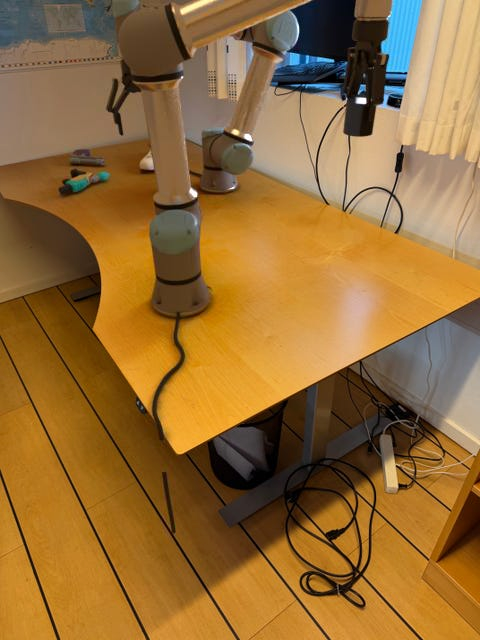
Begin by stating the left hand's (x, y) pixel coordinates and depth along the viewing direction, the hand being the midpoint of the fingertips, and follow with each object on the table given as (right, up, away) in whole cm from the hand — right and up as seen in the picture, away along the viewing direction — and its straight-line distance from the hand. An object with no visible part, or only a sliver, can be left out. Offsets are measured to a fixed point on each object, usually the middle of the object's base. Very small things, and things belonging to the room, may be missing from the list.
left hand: (357, 131), depth 115 cm
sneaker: (-66, +26, +103) cm, 125 cm away
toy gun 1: (-98, +28, +107) cm, 148 cm away
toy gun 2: (-96, +9, +81) cm, 126 cm away
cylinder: (0, 0, 0) cm, 0 cm away
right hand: (-61, +16, +41) cm, 75 cm away
